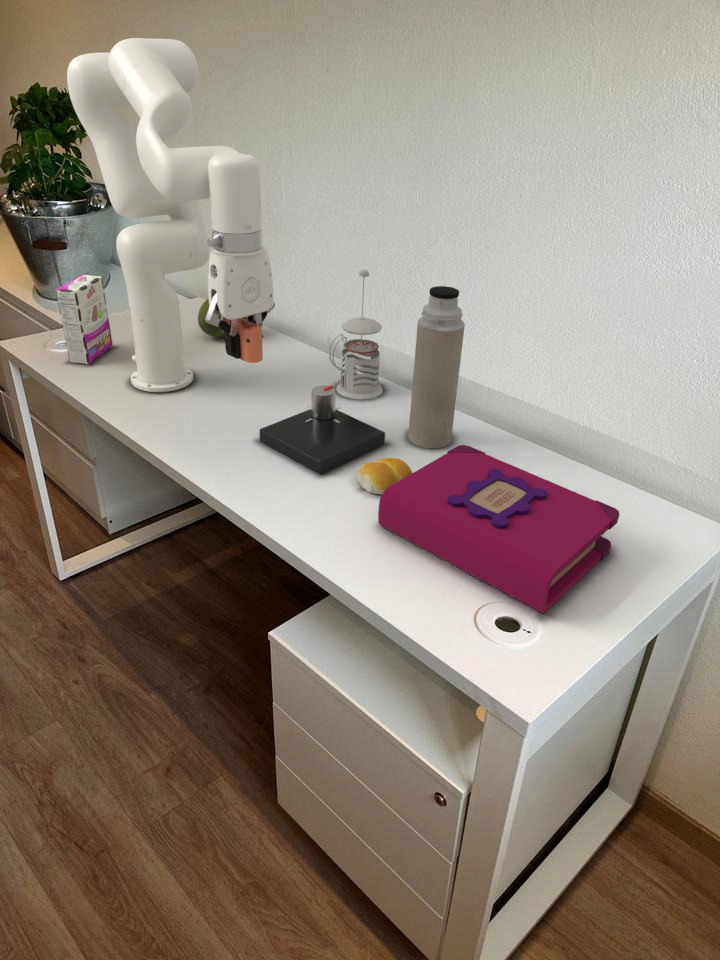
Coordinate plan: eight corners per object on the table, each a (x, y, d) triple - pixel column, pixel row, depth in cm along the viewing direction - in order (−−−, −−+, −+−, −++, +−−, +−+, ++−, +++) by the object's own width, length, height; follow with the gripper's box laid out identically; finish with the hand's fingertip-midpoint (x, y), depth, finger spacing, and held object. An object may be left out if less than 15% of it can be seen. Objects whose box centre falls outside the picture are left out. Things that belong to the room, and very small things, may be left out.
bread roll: (421, 486, 122) (423, 465, 120) (376, 501, 118) (377, 480, 116) (392, 464, 128) (394, 444, 126) (348, 477, 124) (349, 457, 122)
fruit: (257, 330, 182) (256, 290, 177) (235, 347, 171) (233, 305, 166) (215, 323, 185) (212, 284, 179) (190, 340, 174) (186, 298, 169)
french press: (391, 395, 152) (399, 274, 139) (340, 404, 148) (343, 280, 135) (369, 377, 160) (375, 260, 147) (320, 385, 155) (321, 265, 142)
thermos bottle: (417, 424, 141) (430, 279, 127) (456, 434, 139) (474, 286, 124) (401, 442, 135) (413, 291, 121) (442, 452, 132) (459, 299, 118)
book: (539, 619, 95) (550, 573, 91) (376, 530, 111) (379, 487, 107) (612, 550, 109) (624, 507, 105) (457, 479, 124) (463, 439, 121)
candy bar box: (93, 344, 169) (82, 273, 161) (113, 347, 169) (103, 275, 160) (67, 363, 160) (54, 288, 151) (88, 365, 159) (76, 290, 151)
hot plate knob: (323, 422, 135) (323, 395, 132) (306, 414, 138) (306, 388, 135) (339, 414, 138) (340, 388, 135) (323, 407, 140) (323, 381, 138)
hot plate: (256, 439, 134) (256, 426, 132) (323, 412, 144) (324, 400, 143) (320, 475, 124) (320, 461, 123) (387, 443, 135) (388, 430, 133)
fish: (219, 350, 125) (217, 315, 122) (235, 345, 127) (233, 310, 124) (250, 364, 120) (249, 328, 117) (267, 359, 122) (266, 324, 119)
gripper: (207, 254, 107) (216, 372, 116) (293, 238, 117) (295, 348, 126) (178, 244, 111) (188, 359, 121) (263, 229, 121) (267, 336, 131)
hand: (243, 352), depth 123 cm, fingers closed on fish, 3 cm apart
